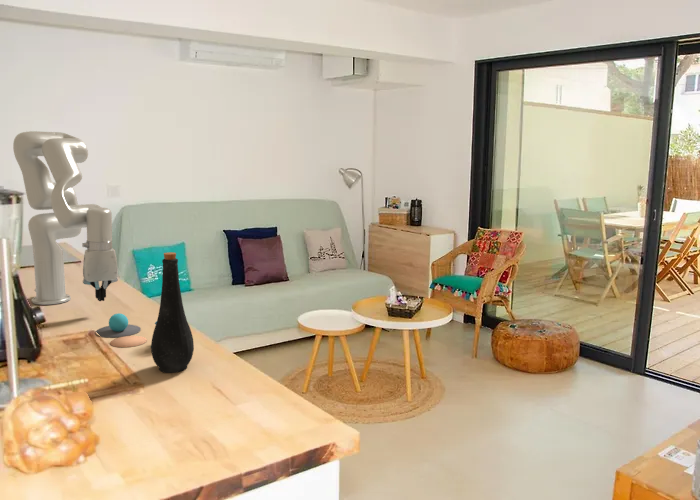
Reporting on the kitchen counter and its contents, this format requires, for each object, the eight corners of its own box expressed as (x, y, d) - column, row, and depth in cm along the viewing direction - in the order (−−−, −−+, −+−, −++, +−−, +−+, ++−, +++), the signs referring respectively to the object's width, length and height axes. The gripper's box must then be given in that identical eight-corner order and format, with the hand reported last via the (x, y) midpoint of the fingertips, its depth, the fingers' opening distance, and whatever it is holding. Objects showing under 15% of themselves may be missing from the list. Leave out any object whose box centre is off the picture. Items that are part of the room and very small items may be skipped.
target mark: (86, 331, 185) (86, 331, 185) (124, 322, 196) (124, 321, 195) (111, 340, 178) (111, 339, 178) (149, 330, 188) (149, 329, 188)
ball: (103, 316, 186) (108, 320, 181) (121, 308, 189) (126, 312, 184) (111, 332, 188) (115, 336, 183) (128, 324, 190) (133, 328, 186)
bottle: (182, 377, 151) (179, 258, 146) (143, 373, 153) (139, 255, 148) (201, 362, 161) (199, 251, 156) (164, 359, 163) (161, 248, 158)
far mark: (103, 342, 176) (103, 341, 176) (133, 334, 184) (133, 333, 184) (123, 349, 170) (123, 349, 170) (153, 341, 178) (153, 340, 178)
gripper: (77, 249, 191) (78, 305, 195) (126, 246, 199) (127, 300, 203) (72, 244, 197) (74, 299, 201) (120, 242, 205) (121, 294, 209)
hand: (100, 299), depth 202 cm, fingers closed
